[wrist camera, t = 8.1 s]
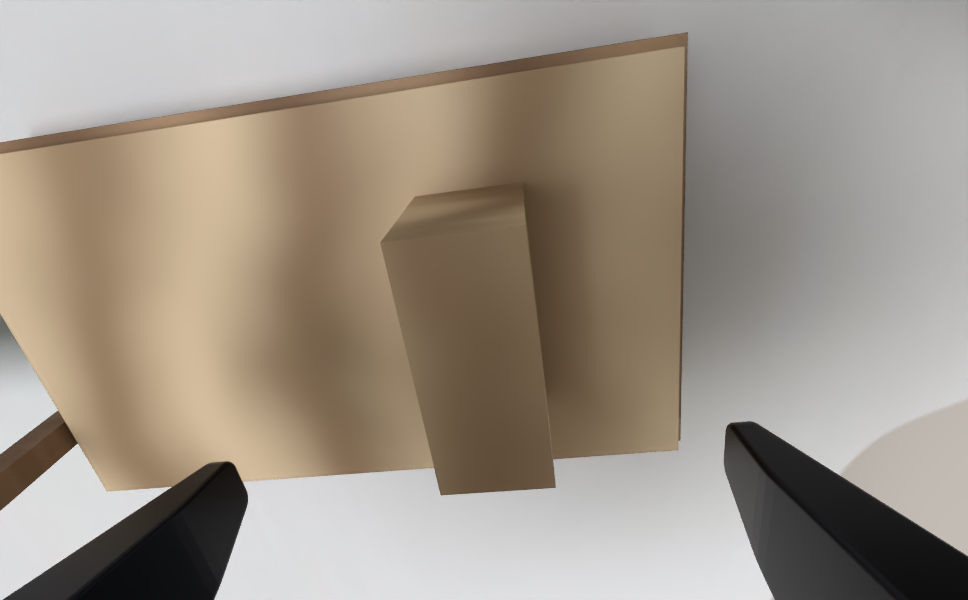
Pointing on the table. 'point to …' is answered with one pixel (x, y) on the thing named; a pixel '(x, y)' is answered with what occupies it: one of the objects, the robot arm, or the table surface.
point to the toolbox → (53, 437)
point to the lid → (364, 281)
